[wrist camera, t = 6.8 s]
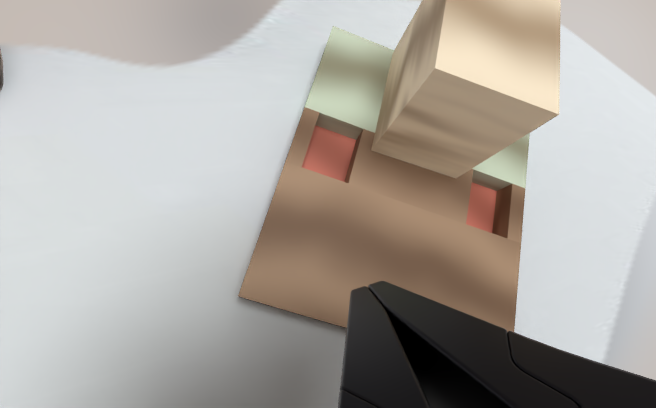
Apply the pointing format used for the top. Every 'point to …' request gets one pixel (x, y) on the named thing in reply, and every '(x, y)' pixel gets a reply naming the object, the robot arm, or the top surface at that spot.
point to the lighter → (1, 71)
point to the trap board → (383, 209)
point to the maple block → (469, 81)
